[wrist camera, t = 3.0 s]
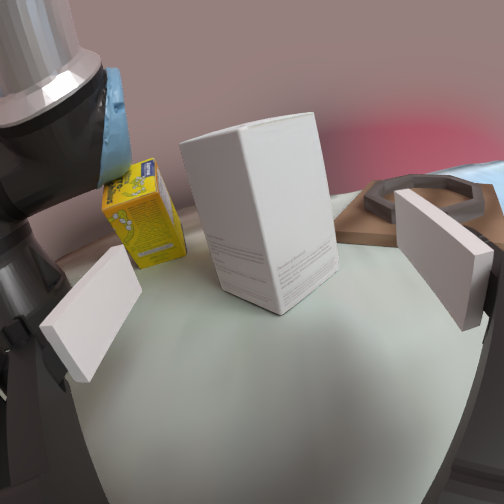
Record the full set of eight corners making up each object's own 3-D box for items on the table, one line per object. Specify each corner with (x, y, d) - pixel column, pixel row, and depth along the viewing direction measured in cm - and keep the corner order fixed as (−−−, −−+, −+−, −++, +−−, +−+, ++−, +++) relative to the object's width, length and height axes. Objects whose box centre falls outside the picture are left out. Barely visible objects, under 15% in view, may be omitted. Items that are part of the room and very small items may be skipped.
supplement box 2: (342, 269, 25) (318, 109, 20) (280, 319, 21) (235, 127, 16) (279, 252, 30) (250, 121, 25) (219, 290, 26) (174, 141, 21)
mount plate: (326, 241, 30) (322, 215, 29) (373, 188, 42) (370, 170, 41) (510, 257, 19) (514, 227, 18) (492, 193, 31) (492, 173, 30)
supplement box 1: (139, 238, 39) (103, 174, 30) (182, 224, 39) (154, 155, 31) (141, 274, 35) (99, 210, 27) (189, 260, 36) (158, 189, 27)
